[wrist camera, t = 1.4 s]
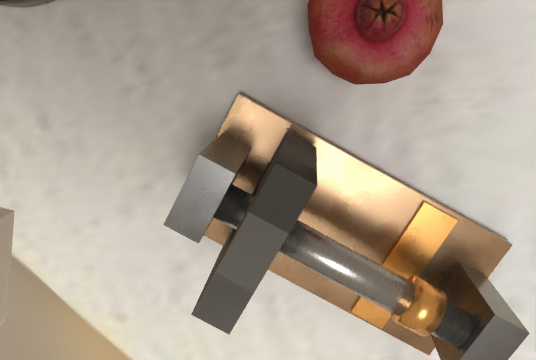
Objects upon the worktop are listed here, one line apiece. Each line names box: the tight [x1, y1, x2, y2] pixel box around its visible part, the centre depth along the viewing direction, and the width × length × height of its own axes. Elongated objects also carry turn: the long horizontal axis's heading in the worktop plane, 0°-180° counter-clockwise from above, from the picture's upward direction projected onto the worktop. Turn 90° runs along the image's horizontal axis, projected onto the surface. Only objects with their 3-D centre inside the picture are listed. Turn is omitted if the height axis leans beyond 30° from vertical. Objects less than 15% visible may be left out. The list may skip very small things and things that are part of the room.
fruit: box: [308, 0, 443, 84], centre depth 29 cm, size 8×8×10 cm
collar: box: [191, 132, 318, 334], centre depth 30 cm, size 2×10×10 cm, turn 152°
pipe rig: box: [164, 93, 529, 360], centre depth 33 cm, size 23×11×9 cm, turn 62°
